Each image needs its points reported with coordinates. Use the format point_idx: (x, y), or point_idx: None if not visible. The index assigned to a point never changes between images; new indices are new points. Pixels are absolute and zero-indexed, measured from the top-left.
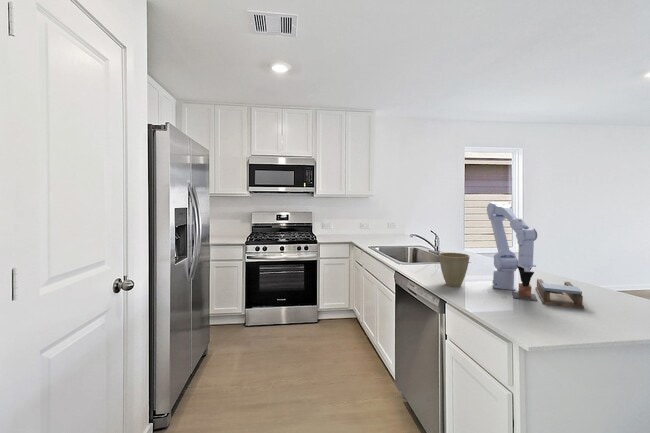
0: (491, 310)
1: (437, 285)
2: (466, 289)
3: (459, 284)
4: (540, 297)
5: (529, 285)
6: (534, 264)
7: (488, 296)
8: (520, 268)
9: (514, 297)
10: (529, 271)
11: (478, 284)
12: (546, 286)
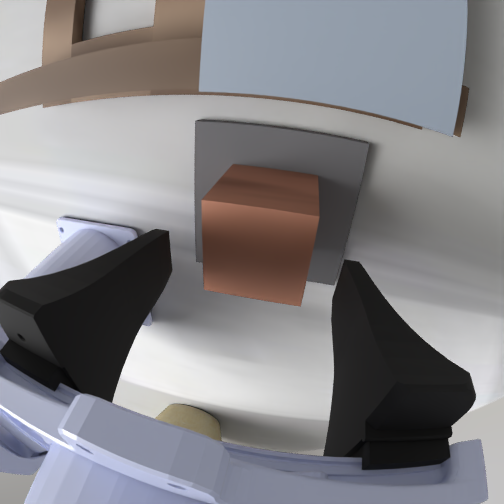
0: (491, 373)
1: (227, 442)
2: (237, 406)
3: (209, 421)
4: (302, 102)
5: (264, 220)
6: (62, 436)
7: (324, 371)
8: (102, 390)
9: (335, 280)
10: (480, 446)
11: (130, 355)
12: (381, 75)
